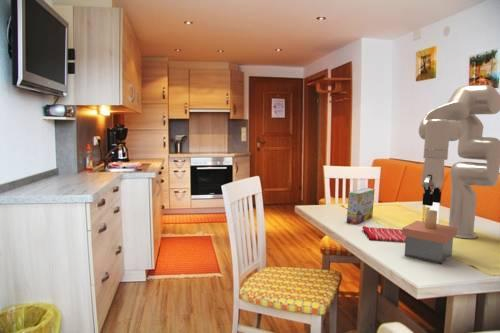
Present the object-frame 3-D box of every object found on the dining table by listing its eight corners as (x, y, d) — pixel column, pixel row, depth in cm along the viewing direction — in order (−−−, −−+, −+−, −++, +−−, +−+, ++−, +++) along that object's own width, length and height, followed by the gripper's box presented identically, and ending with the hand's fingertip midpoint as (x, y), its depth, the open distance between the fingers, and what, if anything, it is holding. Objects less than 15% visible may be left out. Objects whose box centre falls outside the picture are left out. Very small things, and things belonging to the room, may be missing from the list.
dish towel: (361, 230, 170) (361, 225, 170) (416, 234, 167) (417, 228, 167) (368, 241, 153) (368, 235, 153) (430, 245, 150) (430, 239, 150)
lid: (416, 227, 146) (417, 205, 145) (457, 234, 137) (459, 210, 136) (401, 235, 134) (403, 211, 133) (445, 243, 125) (447, 217, 124)
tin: (417, 247, 146) (418, 224, 145) (451, 254, 138) (453, 230, 137) (404, 255, 135) (406, 230, 134) (441, 264, 127) (443, 237, 126)
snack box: (357, 225, 178) (359, 193, 177) (346, 223, 182) (347, 191, 180) (373, 217, 195) (375, 188, 194) (362, 216, 199) (364, 187, 197)
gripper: (431, 154, 142) (427, 199, 143) (416, 154, 129) (412, 205, 130) (453, 155, 137) (449, 202, 138) (440, 156, 124) (436, 208, 125)
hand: (431, 203), depth 134 cm, fingers open, 9 cm apart
